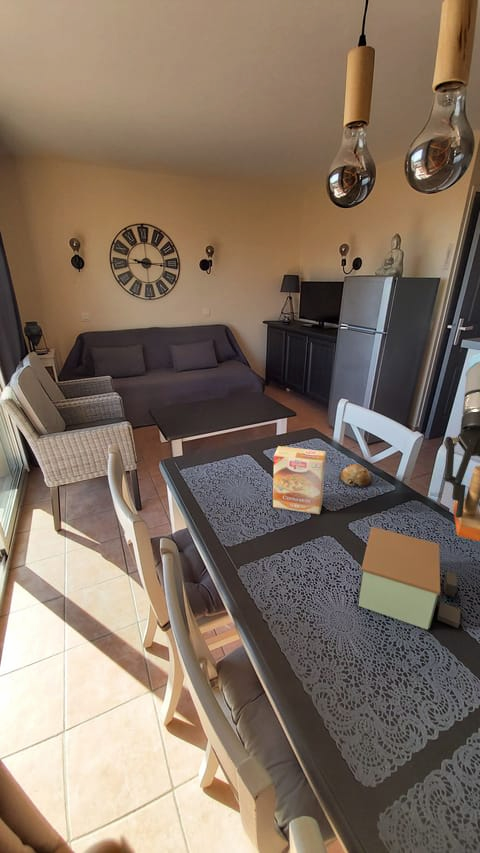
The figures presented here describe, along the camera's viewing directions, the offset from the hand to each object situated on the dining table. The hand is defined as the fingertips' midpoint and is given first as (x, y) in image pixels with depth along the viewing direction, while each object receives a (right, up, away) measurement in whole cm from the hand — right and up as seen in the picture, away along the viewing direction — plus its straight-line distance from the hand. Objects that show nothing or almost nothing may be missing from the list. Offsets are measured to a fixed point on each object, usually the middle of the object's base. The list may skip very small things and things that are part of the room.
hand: (472, 518), depth 74 cm
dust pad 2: (-3, -21, +3) cm, 21 cm away
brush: (+2, -3, +5) cm, 6 cm away
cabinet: (-12, -20, +10) cm, 26 cm away
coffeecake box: (-29, -7, +42) cm, 52 cm away
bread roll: (-7, -1, +55) cm, 56 cm away
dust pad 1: (0, -18, +10) cm, 20 cm away
